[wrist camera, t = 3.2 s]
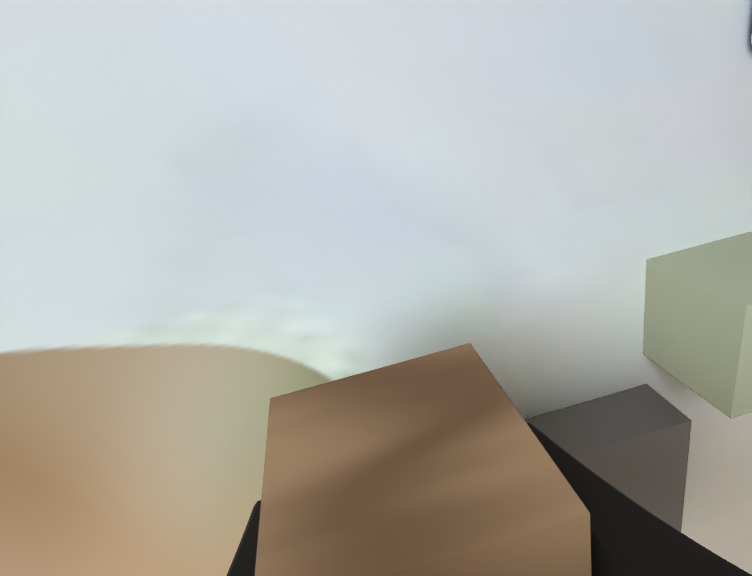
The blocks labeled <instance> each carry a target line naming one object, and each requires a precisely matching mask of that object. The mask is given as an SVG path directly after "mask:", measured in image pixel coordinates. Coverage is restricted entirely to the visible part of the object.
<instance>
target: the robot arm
mask: <svg viewBox="0 0 752 576" xmlns="http://www.w3.org/2000/svg"><path fill="white" fill-rule="evenodd" d="M751 44H752V35H751ZM527 425H528V426H529V427H530V429H531V430H532V432H533V433H534V434H535V436H536V437H537V439H538V440H539V442H540V443H541V444H542V446H543V447H544V449H545V450H546V451H547V453H548V454H549V456H550V457H551V459H552V460H553V461H554V463H555V464H556V466H557V467H558V468H559V470H560V471H561V473H562V474H563V476H564V477H565V478H566V480H567V481H568V483H569V484H570V485H571V487H572V488H573V490H574V491H575V493H576V494H577V495H578V497H579V498H580V500H581V501H582V502H583V504H584V505H585V507H586V508H587V510H588V511H589V512H590V534H591V576H752V575H751V574H749V573H747V572H745V571H744V570H742V569H740V568H739V567H737V566H735V565H733V564H732V563H730V562H728V561H726V560H725V559H723V558H721V557H720V556H718V555H716V554H715V553H713V552H711V551H710V550H708V549H706V548H705V547H703V546H702V545H700V544H698V543H697V542H695V541H694V540H692V539H690V538H689V537H687V536H686V535H684V534H682V533H681V532H679V531H678V530H676V529H675V528H673V527H672V526H670V525H669V524H667V523H666V522H664V521H662V520H661V519H659V518H658V517H656V516H655V515H653V514H652V513H650V512H649V511H647V510H646V509H645V508H643V507H642V506H640V505H639V504H637V503H636V502H634V501H633V500H631V499H630V498H629V497H627V496H626V495H624V494H623V493H622V492H620V491H619V490H617V489H616V488H615V487H613V486H612V485H610V484H609V483H608V482H606V481H605V480H603V479H602V478H601V477H599V476H598V475H597V474H595V473H594V472H593V471H591V470H590V469H589V468H587V467H586V466H585V465H583V464H582V463H581V462H579V461H578V460H577V459H575V458H574V457H573V456H572V455H570V454H569V453H568V452H566V451H565V450H564V449H563V448H561V447H560V446H559V445H558V444H556V443H555V442H554V441H552V440H551V439H550V438H549V437H548V436H546V435H545V434H544V433H543V432H541V431H540V430H539V429H538V428H536V427H535V426H534V425H532V424H530V423H527ZM260 509H261V500H260V501H257V503H256V504H255V506H254V508H253V510H252V513H251V516H250V518H249V521H248V524H247V527H246V529H245V532H244V534H243V537H242V539H241V542H240V544H239V547H238V549H237V552H236V554H235V557H234V559H233V562H232V564H231V566H230V569H229V571H228V574H227V576H255V566H256V554H257V543H258V532H259V520H260Z"/></svg>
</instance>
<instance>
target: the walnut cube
mask: <svg viewBox="0 0 752 576" xmlns="http://www.w3.org/2000/svg"><path fill="white" fill-rule="evenodd" d="M255 576H591V534H590V512H589V511H588V510H587V508H586V507H585V505H584V504H583V502H582V501H581V500H580V498H579V497H578V495H577V494H576V493H575V491H574V490H573V488H572V487H571V485H570V484H569V483H568V481H567V480H566V478H565V477H564V476H563V474H562V473H561V471H560V470H559V468H558V467H557V466H556V464H555V463H554V461H553V460H552V459H551V457H550V456H549V454H548V453H547V451H546V450H545V449H544V447H543V446H542V444H541V443H540V442H539V440H538V439H537V437H536V436H535V434H534V433H533V432H532V430H531V429H530V427H529V426H528V425H527V423H526V422H525V420H524V419H523V417H522V416H521V415H520V413H519V412H518V410H517V409H516V408H515V406H514V405H513V403H512V402H511V400H510V399H509V398H508V396H507V395H506V393H505V392H504V391H503V389H502V388H501V386H500V385H499V384H498V382H497V381H496V379H495V378H494V376H493V375H492V374H491V372H490V371H489V369H488V368H487V367H486V365H485V364H484V362H483V361H482V359H481V358H480V357H479V355H478V354H477V352H476V351H475V350H474V348H473V347H472V345H471V344H466V345H462V346H459V347H455V348H452V349H448V350H444V351H441V352H437V353H433V354H430V355H426V356H422V357H419V358H415V359H411V360H408V361H404V362H401V363H397V364H393V365H390V366H386V367H382V368H379V369H375V370H371V371H368V372H364V373H361V374H357V375H353V376H350V377H346V378H342V379H339V380H335V381H331V382H328V383H324V384H321V385H317V386H314V387H310V388H306V389H303V390H299V391H295V392H291V393H288V394H284V395H281V396H277V397H273V398H270V407H269V418H268V430H267V441H266V454H265V465H264V476H263V487H262V499H261V509H260V520H259V532H258V543H257V554H256V566H255Z"/></svg>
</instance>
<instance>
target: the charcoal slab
mask: <svg viewBox="0 0 752 576" xmlns="http://www.w3.org/2000/svg"><path fill="white" fill-rule="evenodd" d="M525 422H526V423H530V424H532V425H534V426H535V427H536V428H538V429H539V430H540V431H541V432H543V433H544V434H545V435H546V436H548V437H549V438H550V439H551V440H552V441H554V442H555V443H556V444H558V445H559V446H560V447H561V448H563V449H564V450H565V451H566V452H568V453H569V454H570V455H572V456H573V457H574V458H575V459H577V460H578V461H579V462H581V463H582V464H583V465H585V466H586V467H587V468H589V469H590V470H591V471H593V472H594V473H595V474H597V475H598V476H599V477H601V478H602V479H603V480H605V481H606V482H608V483H609V484H610V485H612V486H613V487H615V488H616V489H617V490H619V491H620V492H622V493H623V494H624V495H626V496H627V497H629V498H630V499H631V500H633V501H634V502H636V503H637V504H639V505H640V506H642V507H643V508H645V509H646V510H647V511H649V512H650V513H652V514H653V515H655V516H656V517H658V518H659V519H661V520H662V521H664V522H666V523H667V524H669V525H670V526H672V527H673V528H675V529H676V530H678V531H679V532H681V526H682V515H683V505H684V494H685V483H686V473H687V462H688V452H689V441H690V430H691V420H690V419H689V418H688V417H686V416H685V415H684V414H683V413H681V412H680V411H679V410H678V409H677V408H675V407H674V406H673V405H672V404H670V403H669V402H668V401H667V400H665V399H664V398H663V397H662V396H661V395H659V394H658V393H657V392H656V391H654V390H653V389H652V388H651V387H650V386H648V385H647V384H645V385H641V386H638V387H635V388H631V389H628V390H624V391H621V392H617V393H614V394H611V395H607V396H604V397H600V398H597V399H593V400H590V401H587V402H583V403H580V404H576V405H573V406H570V407H566V408H563V409H559V410H556V411H552V412H549V413H546V414H542V415H539V416H535V417H532V418H528V419H525Z"/></svg>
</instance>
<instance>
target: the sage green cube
mask: <svg viewBox="0 0 752 576" xmlns="http://www.w3.org/2000/svg"><path fill="white" fill-rule="evenodd" d="M643 354H644V355H645V356H647V357H648V358H650V359H651V360H652V361H654V362H655V363H656V364H658V365H659V366H660V367H662V368H663V369H664V370H666V371H667V372H668V373H670V374H671V375H673V376H674V377H675V378H677V379H678V380H679V381H681V382H682V383H683V384H685V385H686V386H687V387H689V388H690V389H692V390H693V391H694V392H696V393H697V394H698V395H700V396H701V397H702V398H704V399H705V400H706V401H708V402H709V403H711V404H712V405H713V406H715V407H716V408H717V409H719V410H720V411H721V412H723V413H724V414H725V415H727V416H728V417H730V418H733V417H737V416H740V415H744V414H747V413H750V412H752V232H747V233H743V234H740V235H736V236H732V237H729V238H725V239H721V240H718V241H714V242H710V243H706V244H703V245H699V246H695V247H692V248H688V249H684V250H680V251H677V252H673V253H669V254H666V255H662V256H658V257H655V258H651V259H647V260H646V285H645V312H644V339H643Z"/></svg>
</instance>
